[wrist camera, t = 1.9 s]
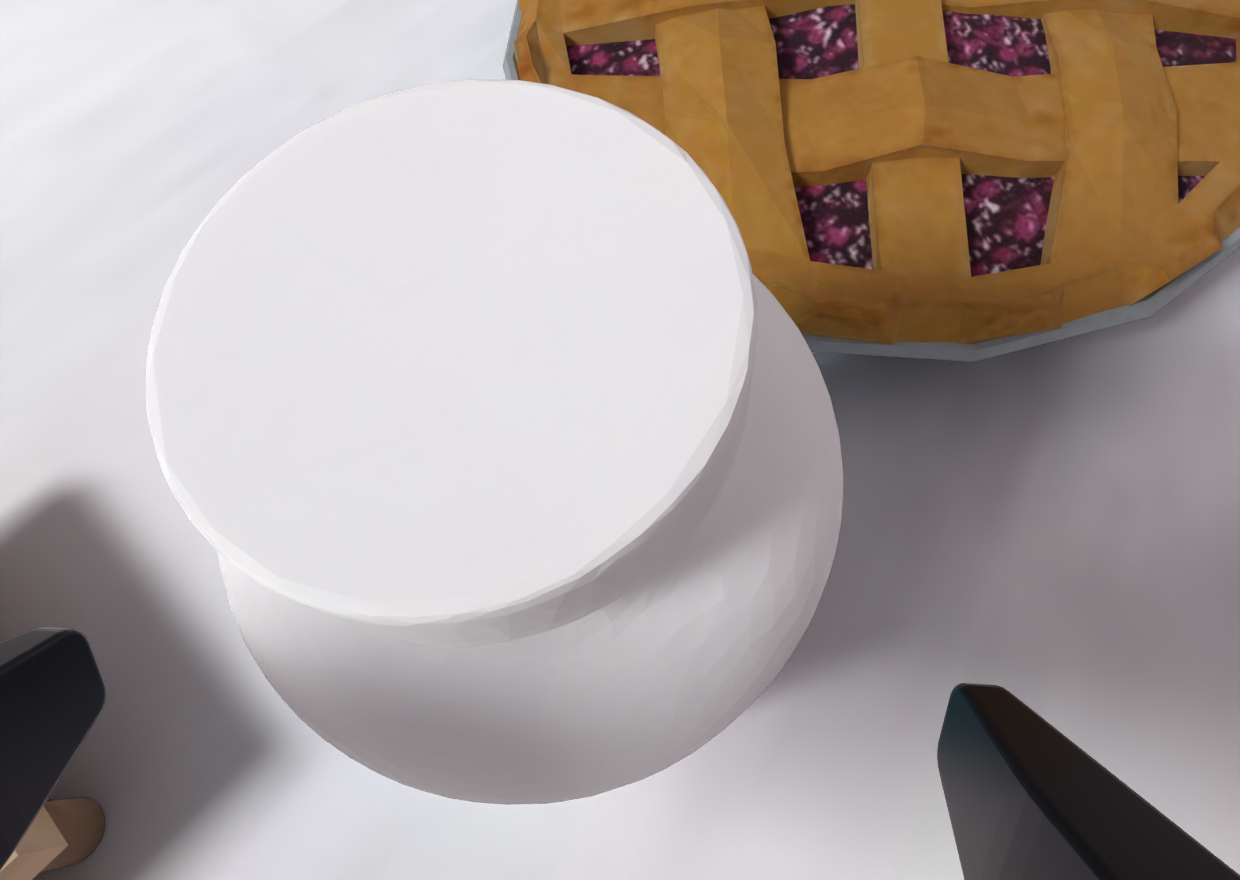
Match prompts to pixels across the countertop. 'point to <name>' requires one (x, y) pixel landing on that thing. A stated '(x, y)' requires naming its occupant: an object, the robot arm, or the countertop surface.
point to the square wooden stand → (57, 838)
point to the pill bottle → (497, 440)
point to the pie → (935, 151)
